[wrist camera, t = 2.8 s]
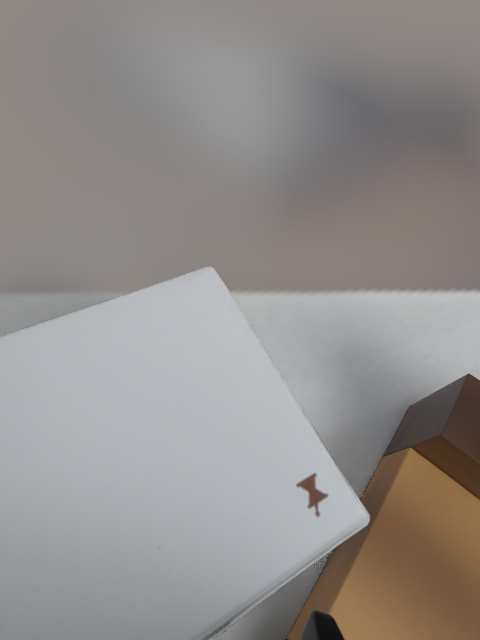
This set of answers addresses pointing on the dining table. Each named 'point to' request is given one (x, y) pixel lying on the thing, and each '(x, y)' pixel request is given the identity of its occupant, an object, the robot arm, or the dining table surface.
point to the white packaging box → (155, 471)
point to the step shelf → (414, 532)
